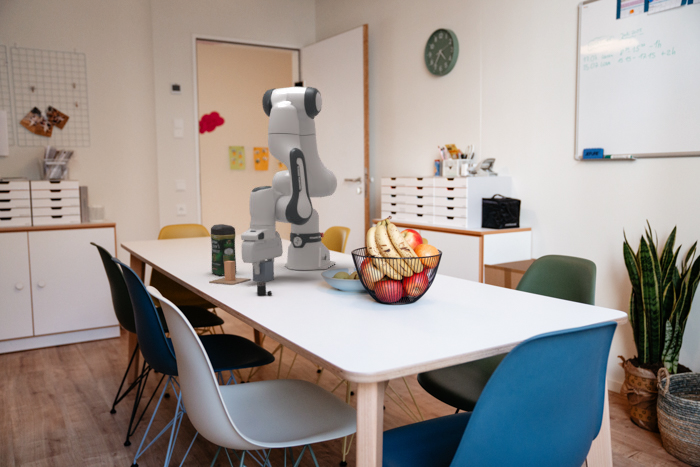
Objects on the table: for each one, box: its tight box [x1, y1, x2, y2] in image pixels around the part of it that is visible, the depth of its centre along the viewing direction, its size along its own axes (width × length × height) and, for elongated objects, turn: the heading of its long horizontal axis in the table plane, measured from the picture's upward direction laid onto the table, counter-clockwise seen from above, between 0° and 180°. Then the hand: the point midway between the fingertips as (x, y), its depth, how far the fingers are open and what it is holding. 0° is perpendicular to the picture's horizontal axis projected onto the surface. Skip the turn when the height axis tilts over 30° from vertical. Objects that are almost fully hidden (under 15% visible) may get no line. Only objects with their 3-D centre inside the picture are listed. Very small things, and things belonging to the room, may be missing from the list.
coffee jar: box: [210, 223, 237, 276], centre depth 213 cm, size 10×8×19 cm
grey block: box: [252, 260, 275, 283], centre depth 200 cm, size 5×5×7 cm
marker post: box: [208, 261, 251, 286], centre depth 198 cm, size 10×10×7 cm
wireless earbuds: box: [256, 281, 273, 297], centre depth 177 cm, size 4×7×3 cm, turn 9°
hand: (263, 272), depth 200 cm, fingers open, 5 cm apart
